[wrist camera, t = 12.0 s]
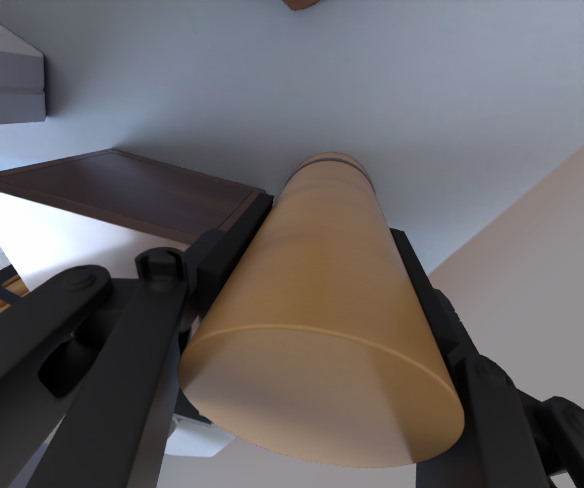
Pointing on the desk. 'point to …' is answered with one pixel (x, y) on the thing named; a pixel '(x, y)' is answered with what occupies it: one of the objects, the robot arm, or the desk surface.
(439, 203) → the desk surface
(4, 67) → the jerry can
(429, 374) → the roller
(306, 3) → the pottery mug
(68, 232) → the cabinet
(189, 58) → the desk surface
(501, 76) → the desk surface
